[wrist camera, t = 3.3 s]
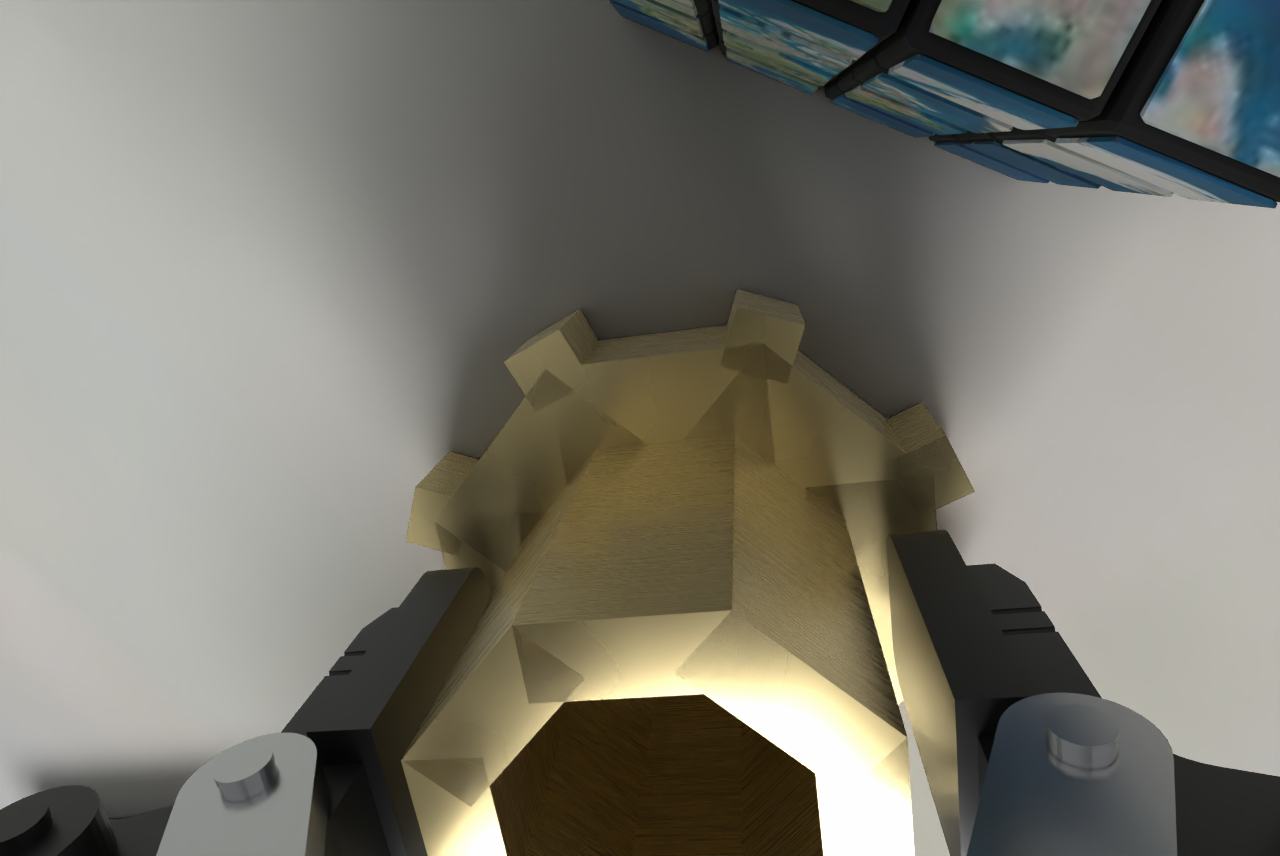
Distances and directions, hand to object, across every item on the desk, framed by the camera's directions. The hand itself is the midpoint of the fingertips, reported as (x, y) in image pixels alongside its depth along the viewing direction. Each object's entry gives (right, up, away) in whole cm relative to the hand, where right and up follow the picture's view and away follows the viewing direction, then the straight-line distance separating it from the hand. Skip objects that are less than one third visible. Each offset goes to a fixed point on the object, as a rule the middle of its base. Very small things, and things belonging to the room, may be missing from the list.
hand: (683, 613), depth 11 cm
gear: (0, +1, +2) cm, 2 cm away
